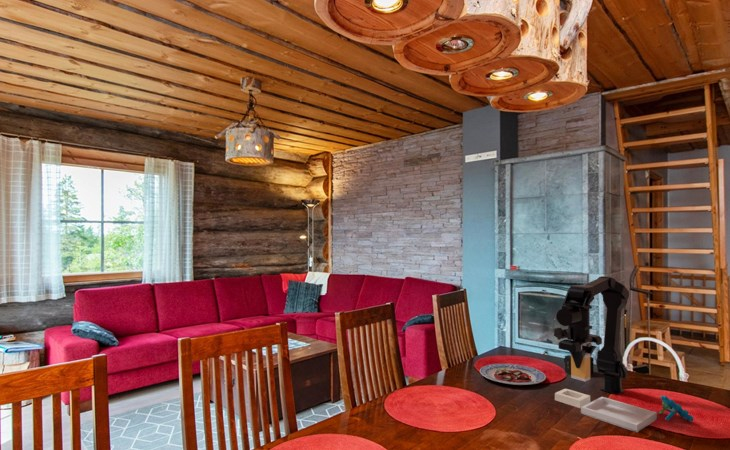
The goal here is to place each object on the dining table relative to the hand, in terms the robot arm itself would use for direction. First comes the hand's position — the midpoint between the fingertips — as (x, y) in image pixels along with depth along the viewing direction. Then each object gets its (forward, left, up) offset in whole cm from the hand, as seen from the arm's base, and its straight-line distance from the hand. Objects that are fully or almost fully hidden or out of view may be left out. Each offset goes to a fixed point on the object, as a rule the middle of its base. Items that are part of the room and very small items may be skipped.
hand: (580, 367), depth 154 cm
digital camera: (-33, -18, -13) cm, 40 cm away
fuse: (0, 0, -4) cm, 4 cm away
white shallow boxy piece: (0, -3, -13) cm, 13 cm away
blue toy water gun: (-12, +25, -13) cm, 30 cm away
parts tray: (0, +12, -13) cm, 18 cm away
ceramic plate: (-5, -31, -14) cm, 34 cm away
